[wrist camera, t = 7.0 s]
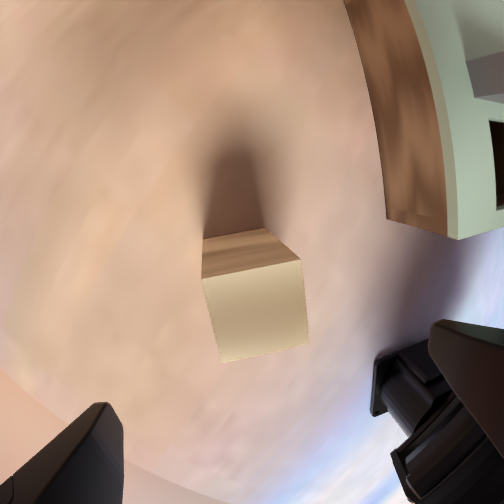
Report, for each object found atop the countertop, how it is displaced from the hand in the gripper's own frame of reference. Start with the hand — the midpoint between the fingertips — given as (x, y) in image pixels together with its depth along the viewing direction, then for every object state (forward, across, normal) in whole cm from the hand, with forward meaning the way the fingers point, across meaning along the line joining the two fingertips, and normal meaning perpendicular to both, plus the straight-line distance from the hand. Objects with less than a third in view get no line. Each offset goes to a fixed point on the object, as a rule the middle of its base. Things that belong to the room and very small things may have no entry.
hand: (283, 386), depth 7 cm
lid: (+5, -16, -9) cm, 19 cm away
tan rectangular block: (+11, 0, 0) cm, 11 cm away
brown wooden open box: (+11, -16, -9) cm, 22 cm away
